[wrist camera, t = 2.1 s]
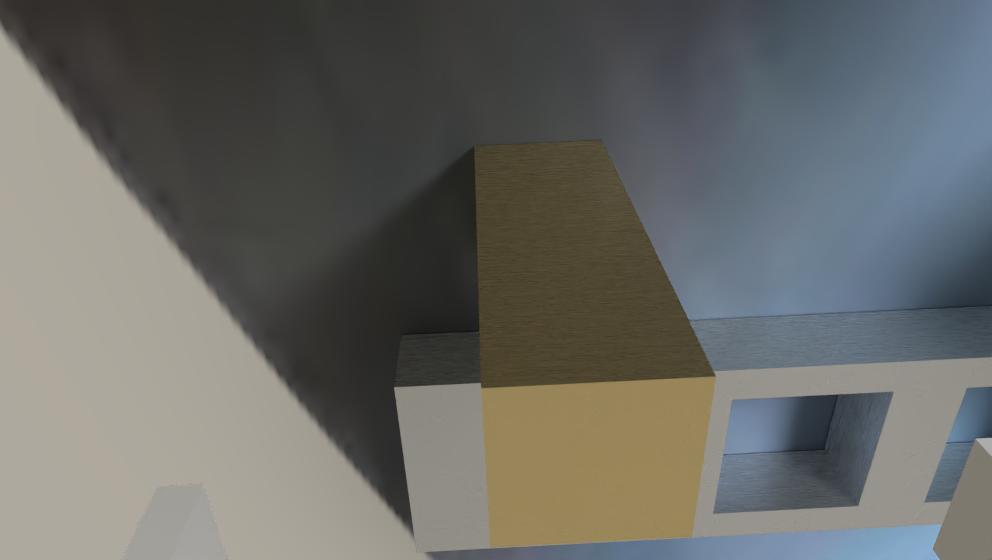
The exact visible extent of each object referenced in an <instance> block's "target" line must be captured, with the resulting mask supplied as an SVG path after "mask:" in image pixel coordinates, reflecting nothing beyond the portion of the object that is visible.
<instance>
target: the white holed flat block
mask: <svg viewBox="0 0 992 560" xmlns="http://www.w3.org/2000/svg"><path fill="white" fill-rule="evenodd" d="M689 322H690V324H691V326H692V328H693V330H694V332H695V334H696V336H697V338H698V340H699V342H700V344H701V346H702V348H703V351H704V353H705V355H706V357H707V359H708V361H709V363H710V365H711V367H712V369H713V371H714V373H715V375H716V381H715V387H714V394H713V401H712V407H711V414H710V421H709V427H708V434H707V440H706V447H705V454H704V460H703V467H702V474H701V480H700V487H699V494H698V500H697V507H696V513H695V520H694V527H693V533H692V537H711V536H730V535H748V534H767V533H786V532H804V531H823V530H842V529H860V528H879V527H897V526H916V525H935V524H943V521H944V519H945V516H946V513H947V511H948V508H949V506H950V503H951V501H952V498H953V495H954V493H955V490H956V488H957V485H958V482H959V480H960V477H961V475H962V472H963V470H964V467H965V464H966V462H967V459H968V457H969V454H970V451H971V449H972V446H973V444H974V442H964V443H947V440H948V438H949V435H950V432H951V430H952V427H953V424H954V422H955V419H956V416H957V414H958V411H959V408H960V406H961V403H962V400H963V398H964V395H965V392H966V390H967V388H973V387H992V306H979V307H958V308H938V309H918V310H898V311H878V312H857V313H837V314H817V315H797V316H777V317H757V318H736V319H716V320H696V321H689ZM394 390H395V397H396V405H397V412H398V419H399V427H400V434H401V442H402V449H403V456H404V464H405V471H406V479H407V486H408V493H409V501H410V508H411V515H412V523H413V530H414V538H415V545H416V552H432V551H450V550H469V549H487V548H490V533H489V515H488V498H487V481H486V464H485V446H484V429H483V412H482V395H481V365H480V331H474V332H454V333H434V334H413V335H401V341H400V349H399V356H398V363H397V370H396V378H395V385H394ZM836 394H838V398H837V402H836V406H835V410H834V413H833V417H832V421H831V425H830V429H829V432H828V436H827V440H826V444H825V448H824V450H811V451H792V452H772V453H753V454H734V455H723V452H724V446H725V440H726V434H727V428H728V422H729V416H730V410H731V404H732V400H738V399H757V398H777V397H796V396H816V395H836ZM692 537H681V538H692ZM663 539H674V538H663ZM644 540H655V539H644ZM625 541H637V540H625ZM606 542H618V541H606ZM587 543H599V542H587ZM569 544H581V543H569ZM550 545H562V544H550ZM531 546H543V545H531ZM512 547H525V546H512ZM494 548H506V547H494Z"/></svg>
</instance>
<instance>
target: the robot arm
mask: <svg viewBox="0 0 992 560" xmlns="http://www.w3.org/2000/svg"><path fill="white" fill-rule="evenodd" d="M933 550H934V551H935V553H936V554H937V556H938V557H939V559H940V560H992V438H979V439H975V441H974V444H973V446H972V449H971V451H970V454H969V457H968V459H967V462H966V464H965V467H964V470H963V472H962V475H961V477H960V480H959V482H958V485H957V488H956V490H955V493H954V495H953V498H952V501H951V503H950V506H949V508H948V511H947V513H946V516H945V519H944V521H943V524H942V526H941V529H940V532H939V534H938V537H937V539H936V542H935V544H934V547H933ZM121 560H228V558H227V555H226V552H225V549H224V546H223V543H222V540H221V537H220V534H219V531H218V528H217V525H216V522H215V519H214V516H213V512H212V510H211V506H210V503H209V500H208V497H207V494H206V491H205V488H204V485H203V484H187V485H169V486H157V487H156V489H155V491H154V493H153V496H152V498H151V499H150V501H149V503H148V506H147V507H146V509H145V512H144V513H143V515H142V518H141V520H140V522H139V524H138V526H137V528H136V530H135V532H134V534H133V536H132V538H131V540H130V542H129V544H128V546H127V548H126V550H125V552H124V554H123V556H122V558H121Z"/></svg>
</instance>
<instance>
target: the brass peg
mask: <svg viewBox="0 0 992 560" xmlns="http://www.w3.org/2000/svg"><path fill="white" fill-rule="evenodd" d="M474 151H475V187H476V223H477V258H478V294H479V330H480V365H481V395H482V412H483V429H484V446H485V464H486V481H487V498H488V515H489V533H490V548H494V547H512V546H531V545H550V544H569V543H587V542H606V541H625V540H644V539H663V538H681V537H692V533H693V527H694V520H695V513H696V507H697V500H698V494H699V487H700V480H701V474H702V467H703V460H704V454H705V447H706V440H707V434H708V427H709V421H710V414H711V407H712V401H713V394H714V387H715V381H716V375H715V373H714V371H713V369H712V367H711V365H710V363H709V361H708V359H707V357H706V355H705V353H704V351H703V348H702V346H701V344H700V342H699V340H698V338H697V336H696V334H695V332H694V330H693V328H692V326H691V324H690V322H689V320H688V318H687V315H686V313H685V311H684V309H683V307H682V305H681V303H680V301H679V299H678V297H677V295H676V293H675V291H674V289H673V287H672V285H671V283H670V280H669V278H668V276H667V274H666V272H665V270H664V268H663V266H662V264H661V262H660V260H659V258H658V256H657V254H656V252H655V250H654V248H653V245H652V243H651V241H650V239H649V237H648V235H647V233H646V231H645V229H644V227H643V225H642V223H641V221H640V219H639V217H638V215H637V213H636V210H635V208H634V206H633V204H632V202H631V200H630V198H629V196H628V194H627V192H626V190H625V188H624V186H623V184H622V182H621V180H620V178H619V175H618V173H617V171H616V169H615V167H614V165H613V163H612V161H611V159H610V157H609V155H608V153H607V151H606V149H605V147H604V145H603V143H602V140H595V141H573V142H552V143H530V144H508V145H486V146H474Z"/></svg>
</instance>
